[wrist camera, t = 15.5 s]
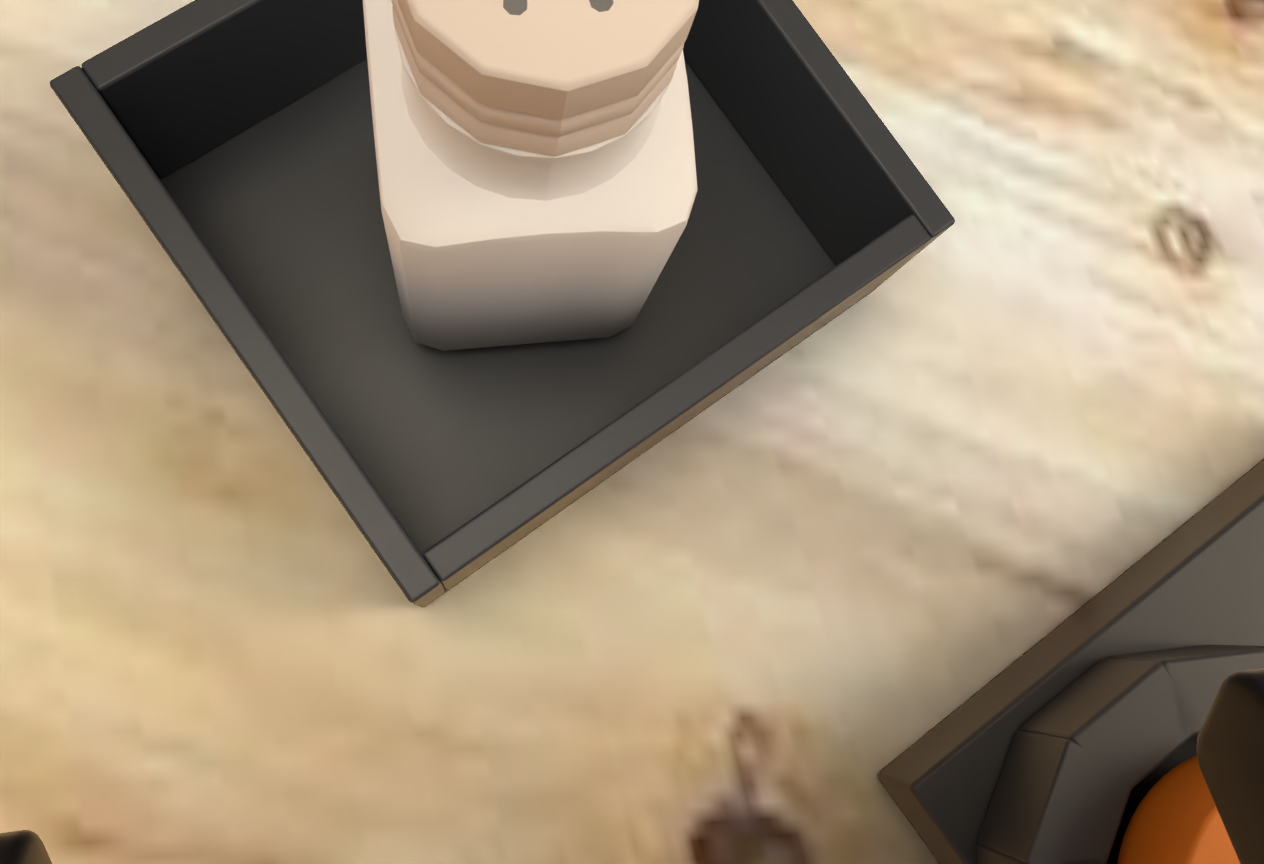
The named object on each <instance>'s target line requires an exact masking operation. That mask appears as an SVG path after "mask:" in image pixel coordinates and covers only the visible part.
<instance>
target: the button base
mask: <svg viewBox="0 0 1264 864" xmlns="http://www.w3.org/2000/svg"><path fill="white" fill-rule="evenodd" d="M1261 668H1264V460H1263V461H1261V462H1260V463H1259V464H1258V465H1257V466H1255V467H1254V468H1253V469H1252V470H1250V471H1249V472H1248V473H1247V474H1245V475H1244V476H1243V477H1242V478H1241V479H1239V480H1238V481H1237V482H1236V483H1234V484H1233V485H1232V486H1231V487H1229V488H1228V489H1227V490H1226V491H1225V492H1223V493H1222V494H1221V495H1220V496H1218V497H1217V498H1216V499H1215V500H1213V501H1212V502H1211V503H1210V504H1209V505H1207V506H1206V507H1205V508H1204V509H1202V510H1201V511H1200V512H1199V513H1197V514H1196V515H1195V516H1194V517H1193V518H1191V519H1190V520H1189V521H1188V522H1186V523H1185V524H1184V525H1183V526H1182V527H1180V528H1179V529H1178V530H1177V531H1175V532H1174V533H1173V534H1172V535H1170V536H1169V537H1168V538H1167V539H1166V540H1164V541H1163V542H1162V543H1161V544H1159V545H1158V546H1157V547H1156V548H1154V549H1153V550H1152V551H1151V552H1150V553H1148V554H1147V555H1146V556H1145V557H1143V558H1142V559H1141V560H1140V561H1138V562H1137V563H1136V564H1135V565H1134V566H1132V567H1131V568H1130V569H1129V570H1127V571H1126V572H1125V573H1124V574H1122V575H1121V576H1120V577H1119V578H1118V579H1116V580H1115V581H1114V582H1113V583H1111V584H1110V585H1109V586H1108V587H1106V588H1105V589H1104V590H1103V591H1102V592H1100V593H1099V594H1098V595H1097V596H1095V597H1094V598H1093V599H1092V600H1090V601H1089V602H1088V603H1087V604H1086V605H1084V606H1083V607H1082V608H1081V609H1079V610H1078V611H1077V612H1076V613H1074V614H1073V615H1072V616H1071V617H1070V618H1068V619H1067V620H1066V621H1065V622H1063V623H1062V624H1061V625H1060V626H1058V627H1057V628H1056V629H1055V630H1054V631H1052V632H1051V633H1050V634H1049V635H1047V636H1046V637H1045V638H1044V639H1042V640H1041V641H1040V642H1039V643H1038V644H1036V645H1035V646H1034V647H1033V648H1031V649H1030V650H1029V651H1028V652H1026V653H1025V654H1024V655H1023V656H1022V657H1020V658H1019V659H1018V660H1017V661H1015V662H1014V663H1013V664H1012V665H1011V666H1009V667H1008V668H1007V669H1006V670H1004V671H1003V672H1002V673H1001V674H999V675H998V676H997V677H996V678H995V679H993V680H992V681H991V682H990V683H988V684H987V685H986V686H985V687H983V688H982V689H981V690H980V691H979V692H977V693H976V694H975V695H974V696H972V697H971V698H970V699H969V700H967V701H966V702H965V703H964V704H963V705H961V706H960V707H959V708H958V709H956V710H955V711H954V712H953V713H951V714H950V715H949V716H948V717H947V718H945V719H944V720H943V721H942V722H940V723H939V724H938V725H937V726H935V727H934V728H933V729H932V730H931V731H929V732H928V733H927V734H926V735H924V736H923V737H922V738H921V739H919V740H918V741H917V742H916V743H915V744H913V745H912V746H911V747H910V748H908V749H907V750H906V751H905V752H903V753H902V754H901V755H900V756H899V757H897V758H896V759H895V760H894V761H892V762H891V763H890V764H889V765H887V766H886V767H885V768H884V769H883V770H881V771H880V773H879V774H878V776H879V780H880V781H881V782H882V784H883V785H884V787H885V788H886V789H887V791H888V792H889V794H890V795H891V796H892V798H893V799H894V801H895V802H896V803H897V805H898V806H899V808H900V809H901V810H902V812H903V813H904V815H905V816H906V817H907V819H908V820H909V822H910V823H911V824H912V826H913V827H914V829H915V830H916V831H917V833H918V834H919V836H920V837H921V838H922V840H923V841H924V843H925V844H926V845H927V847H928V848H929V850H930V851H931V852H932V854H933V855H934V857H935V858H936V859H937V861H938V862H939V864H1117V862H1118V855H1119V851H1120V848H1121V844H1122V840H1123V837H1124V834H1125V832H1126V829H1127V827H1128V824H1129V822H1130V819H1131V818H1132V816H1133V814H1134V812H1135V811H1136V809H1137V807H1138V805H1139V803H1140V802H1141V801H1142V799H1143V798H1144V797H1145V795H1146V794H1147V793H1148V792H1149V790H1150V789H1151V788H1152V787H1153V786H1154V785H1155V784H1156V783H1157V782H1158V781H1159V780H1160V779H1161V778H1162V777H1163V776H1164V775H1165V774H1167V773H1168V772H1169V771H1171V770H1172V769H1173V768H1175V767H1176V766H1177V765H1179V764H1181V763H1183V762H1184V761H1186V760H1188V759H1190V758H1192V757H1194V756H1196V755H1197V749H1196V745H1197V737H1198V734H1199V732H1200V730H1201V727H1202V725H1203V723H1204V721H1205V719H1206V716H1207V714H1208V712H1209V710H1210V707H1211V705H1212V703H1213V701H1214V698H1215V696H1216V694H1217V692H1218V690H1219V687H1220V685H1221V683H1222V682H1223V680H1224V679H1225V678H1226V677H1227V676H1228V675H1230V674H1231V673H1234V672H1238V671H1245V670H1253V669H1261Z"/></svg>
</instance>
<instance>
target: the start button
mask: <svg viewBox="0 0 1264 864" xmlns="http://www.w3.org/2000/svg"><path fill="white" fill-rule="evenodd" d="M1117 864H1240V861H1239V859H1238V857H1237V854H1236V852H1235V850H1234V847H1233V845H1232V843H1231V840H1230V838H1229V836H1228V833H1227V831H1226V829H1225V826H1224V824H1223V821H1222V819H1221V817H1220V814H1219V812H1218V810H1217V807H1216V805H1215V803H1214V800H1213V798H1212V796H1211V793H1210V791H1209V789H1208V786H1207V784H1206V782H1205V779H1204V777H1203V774H1202V772H1201V769H1200V766H1199V763H1198V758H1197V755H1196V756H1194V757H1192V758H1190V759H1188V760H1186V761H1184V762H1183V763H1181V764H1179V765H1177V766H1176V767H1175V768H1173V769H1172V770H1171V771H1169V772H1168V773H1167V774H1165V775H1164V776H1163V777H1162V778H1161V779H1160V780H1159V781H1158V782H1157V783H1156V784H1155V785H1154V786H1153V787H1152V788H1151V789H1150V790H1149V792H1148V793H1147V794H1146V795H1145V797H1144V798H1143V799H1142V801H1141V802H1140V803H1139V805H1138V807H1137V809H1136V811H1135V812H1134V814H1133V816H1132V818H1131V819H1130V822H1129V824H1128V827H1127V829H1126V832H1125V834H1124V837H1123V840H1122V844H1121V848H1120V851H1119V855H1118V862H1117Z"/></svg>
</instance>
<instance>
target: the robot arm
mask: <svg viewBox="0 0 1264 864" xmlns="http://www.w3.org/2000/svg"><path fill="white" fill-rule="evenodd" d="M1196 749H1197V758H1198V763H1199V766H1200V769H1201V772H1202V774H1203V777H1204V779H1205V782H1206V784H1207V786H1208V789H1209V791H1210V793H1211V796H1212V798H1213V800H1214V803H1215V805H1216V807H1217V810H1218V812H1219V814H1220V817H1221V819H1222V821H1223V824H1224V826H1225V829H1226V831H1227V833H1228V836H1229V838H1230V840H1231V843H1232V845H1233V847H1234V850H1235V852H1236V854H1237V857H1238V859H1239V861H1240V864H1264V668H1261V669H1253V670H1245V671H1238V672H1234V673H1231V674H1230V675H1228V676H1227V677H1226V678H1225V679H1224V680H1223V682H1222V683H1221V685H1220V687H1219V690H1218V692H1217V694H1216V696H1215V698H1214V701H1213V703H1212V705H1211V707H1210V710H1209V712H1208V714H1207V716H1206V719H1205V721H1204V723H1203V725H1202V727H1201V730H1200V732H1199V734H1198V737H1197V745H1196ZM0 864H52V862H51V860H50V858H49V856H48V853H47V851H46V849H45V847H44V845H43V842H42V841H41V839H40V838H39V836H38V835H37V834H35V833H34V832H32V831H29V830H22V831H14V832H6V833H0Z"/></svg>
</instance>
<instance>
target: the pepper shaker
mask: <svg viewBox="0 0 1264 864" xmlns="http://www.w3.org/2000/svg"><path fill="white" fill-rule="evenodd" d="M698 4H699V0H363V12H364V25H365V37H366V50H367V62H368V74H369V85H370V97H371V108H372V119H373V130H374V140H375V151H376V161H377V171H378V181H379V191H380V202H381V211H382V216H383V221H384V226H385V231H386V235H387V240H388V245H389V250H390V255H391V260H392V265H393V270H394V275H395V280H396V284H397V289H398V294H399V299H400V304H401V309H402V314H403V319H404V321H405V322H406V324H407V326H408V328H409V330H410V332H411V333H412V335H413V337H414V339H415V341H416V343H419V344H423V345H426V346H429V347H432V348H436V349H439V350H442V351H447V350H459V349H472V348H484V347H496V346H508V345H520V344H532V343H544V342H556V341H569V340H581V339H592V338H604V337H610V336H612V335H614V334H616V333H618V332H620V331H622V330H624V329H626V328H628V327H630V326H632V325H633V323H634V321H635V319H636V318H637V316H638V314H639V312H640V310H641V308H642V307H643V305H644V303H645V301H646V299H647V297H648V295H649V294H650V292H651V290H652V288H653V286H654V284H655V283H656V281H657V279H658V277H659V275H660V273H661V271H662V270H663V268H664V266H665V264H666V262H667V260H668V258H669V257H670V255H671V253H672V251H673V249H674V247H675V246H676V244H677V242H678V240H679V238H680V236H681V234H682V233H683V231H684V229H685V227H686V225H687V222H688V219H689V216H690V212H691V209H692V206H693V203H694V200H695V196H696V193H697V190H698V189H697V176H696V164H695V151H694V139H693V127H692V118H691V109H690V99H689V90H688V81H687V74H686V67H685V61H684V54H683V47H684V42H685V41H686V39H687V36H688V34H689V31H690V28H691V26H692V23H693V20H694V18H695V15H696V12H697V9H698Z"/></svg>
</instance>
